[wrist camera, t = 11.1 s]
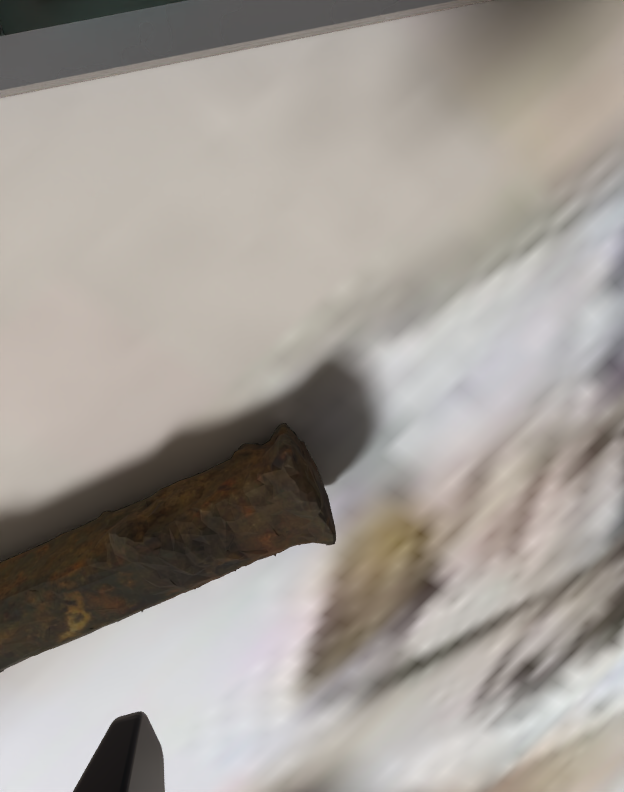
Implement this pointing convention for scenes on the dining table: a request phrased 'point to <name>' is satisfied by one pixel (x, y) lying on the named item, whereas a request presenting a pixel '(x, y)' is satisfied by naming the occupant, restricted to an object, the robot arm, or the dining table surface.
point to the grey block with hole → (181, 36)
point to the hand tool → (163, 546)
